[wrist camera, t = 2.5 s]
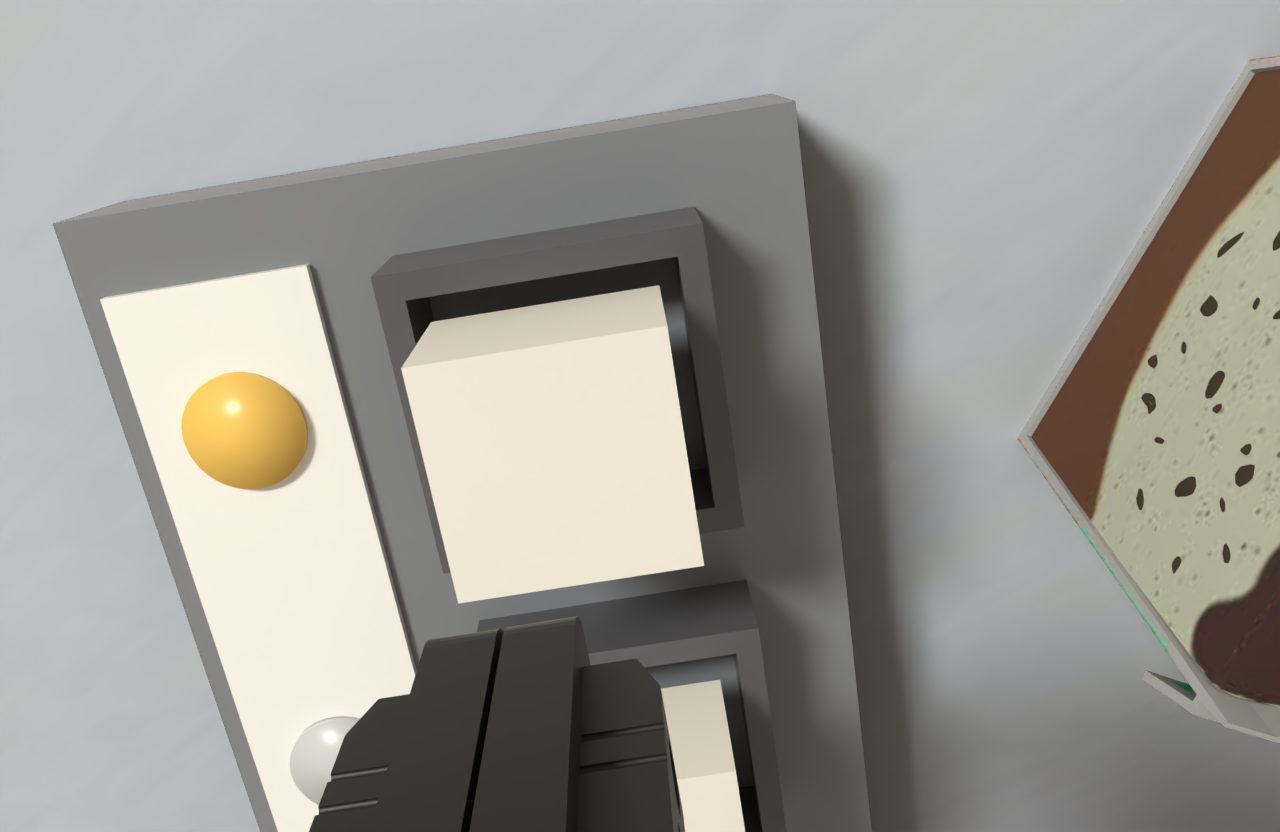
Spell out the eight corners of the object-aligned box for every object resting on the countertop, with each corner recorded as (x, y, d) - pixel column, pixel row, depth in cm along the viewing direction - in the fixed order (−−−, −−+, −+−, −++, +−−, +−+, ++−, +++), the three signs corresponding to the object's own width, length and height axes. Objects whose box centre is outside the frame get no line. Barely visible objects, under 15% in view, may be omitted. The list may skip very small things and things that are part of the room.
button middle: (719, 679, 21) (735, 771, 18) (745, 842, 22) (762, 949, 20) (520, 709, 21) (507, 804, 18) (556, 869, 22) (550, 979, 20)
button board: (771, 93, 22) (815, 107, 18) (872, 990, 31) (919, 1163, 26) (122, 201, 23) (-6, 242, 18) (394, 1058, 31) (355, 1240, 26)
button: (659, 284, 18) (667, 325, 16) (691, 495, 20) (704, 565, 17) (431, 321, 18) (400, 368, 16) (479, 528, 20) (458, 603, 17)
